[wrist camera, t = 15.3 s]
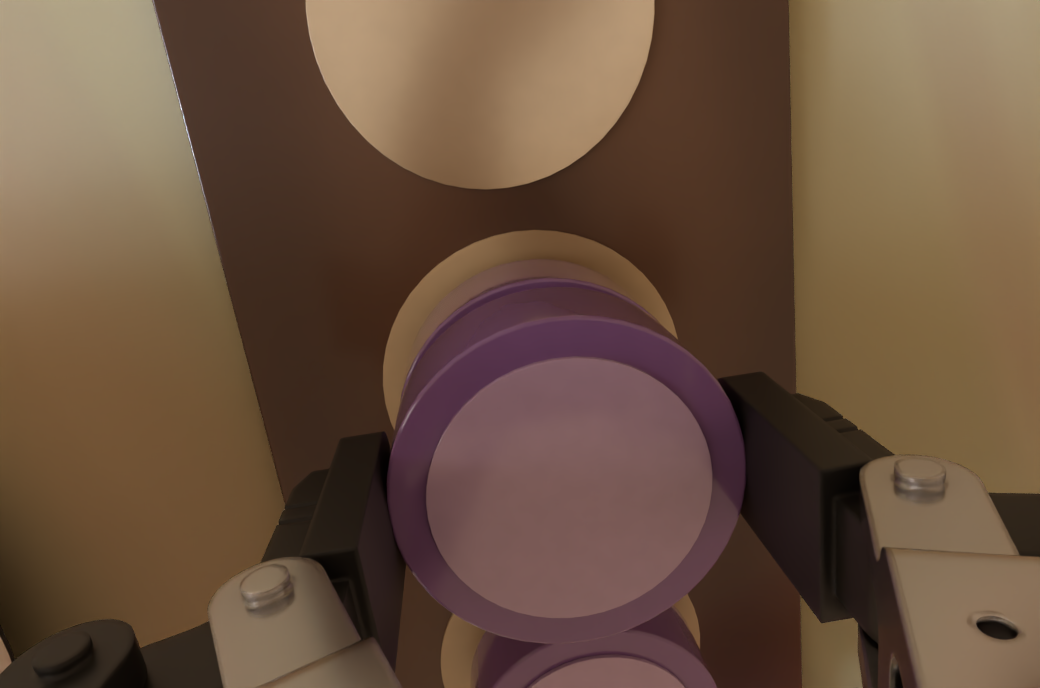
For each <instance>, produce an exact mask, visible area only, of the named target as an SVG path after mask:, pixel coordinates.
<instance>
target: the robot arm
mask: <svg viewBox="0 0 1040 688" xmlns="http://www.w3.org/2000/svg"><path fill="white" fill-rule="evenodd" d="M717 380H718V382H719V383H720V385H721V386H722V388H723V390H724V391H725V393H726V394H727V396H728V398H729V399H730V401H731V403H732V406H733V408H734V410H735V413H736V415H737V417H738V419H739V423H740V427H741V430H742V434H743V438H744V445H745V455H746V486H745V492H744V498H743V504H742V508H741V511H740V514H741V515H742V516H743V518H744V519H745V520H746V522H747V523H748V525H749V526H750V527H751V529H752V530H753V531H754V533H755V534H756V535H757V537H758V538H759V539H760V541H761V542H762V544H763V545H764V546H765V548H766V549H767V550H768V552H769V553H770V554H771V556H772V557H773V558H774V560H775V561H776V562H777V564H778V565H779V567H780V568H781V569H782V571H783V572H784V573H785V575H786V576H787V577H788V579H789V580H790V581H791V583H792V584H793V586H794V587H795V588H796V590H797V591H798V592H799V594H800V595H801V596H802V598H803V599H804V600H805V602H806V603H807V604H808V606H809V607H810V609H811V610H812V611H813V613H814V614H815V615H816V617H817V618H818V619H819V621H820V622H821V623H826V622H832V621H837V620H843V619H849V618H854V619H855V620H856V621H857V623H858V656H859V663H860V670H861V677H862V684H863V688H1040V494H1019V493H988V492H987V490H986V488H985V486H984V484H983V482H982V481H981V479H980V478H979V477H978V476H977V475H976V474H975V473H974V472H972V471H970V470H969V469H967V468H965V467H963V466H961V465H959V464H956V463H954V462H951V461H947V460H944V459H940V458H935V457H930V456H922V455H894V454H893V453H891V452H890V451H889V450H887V449H886V448H885V447H883V446H882V445H881V444H879V443H878V442H877V441H875V440H874V439H873V438H871V437H870V436H869V435H867V434H866V433H865V432H863V431H862V430H858V429H857V426H855V425H854V424H853V423H851V422H850V421H849V420H847V419H843V416H842V415H841V414H839V413H838V412H837V411H835V410H834V409H833V408H831V407H830V406H829V405H827V404H826V403H824V402H822V401H819V400H816V399H813V398H810V397H807V396H804V395H801V394H799V393H797V394H790V393H789V392H788V391H787V390H785V389H784V388H783V387H782V386H780V385H779V384H778V383H777V382H775V381H774V380H773V379H772V378H770V377H769V376H768V375H766V374H765V373H764V372H761V371H760V372H753V373H747V374H741V375H735V376H728V377H722V378H718V379H717ZM390 452H391V448H390V444H389V440H388V437H387V435H386V433H385V432H384V431H382V432H376V433H370V434H364V435H357V436H351V437H345V438H341V439H340V440H339V443H338V446H337V449H336V451H335V454H334V457H333V460H332V463H331V466H330V468H329V469H324V470H318V471H312V472H311V473H310V474H309V475H307V476H306V477H305V478H304V479H303V480H302V481H301V482H300V483H299V484H297V485H296V486H295V487H294V488H293V489H292V491H291V494H290V496H289V498H288V501H287V503H286V505H285V510H283V512H282V514H281V517H280V519H279V521H278V522H279V525H277V526H276V528H275V531H274V533H273V535H272V537H271V540H270V542H269V544H268V547H267V549H266V551H265V554H264V556H263V558H262V561H261V563H260V564H257V565H255V566H252V567H250V568H248V569H246V570H244V571H242V572H240V573H238V574H237V575H235V576H234V577H232V578H231V579H229V580H228V581H227V582H226V583H224V584H223V585H222V586H221V587H220V588H219V589H218V590H217V591H216V593H215V594H214V595H213V596H212V598H211V600H210V602H209V605H208V618H209V621H208V622H206V623H204V624H202V625H200V626H198V627H195V628H193V629H191V630H188V631H186V632H183V633H180V634H177V635H175V636H172V637H169V638H166V639H164V640H161V641H158V642H156V643H153V644H150V645H147V646H145V647H142V648H140V647H139V644H138V641H137V639H136V636H135V633H134V631H133V629H132V627H131V626H130V625H129V624H128V623H126V622H123V621H120V620H97V621H92V622H87V623H83V624H80V625H77V626H73V627H71V628H68V629H66V630H63V631H61V632H59V633H56V634H54V635H52V636H50V637H48V638H46V639H45V640H43V641H41V642H39V643H38V644H36V645H34V646H33V647H31V648H30V649H28V650H27V651H26V652H24V653H23V654H22V655H20V656H19V657H18V658H17V659H16V660H14V661H13V662H12V663H11V664H10V665H9V666H8V667H7V668H6V669H5V670H4V671H3V672H2V673H1V674H0V688H403V687H402V686H401V684H400V682H399V680H398V679H397V677H396V675H395V669H396V659H397V649H398V639H399V629H400V619H401V610H402V600H403V590H404V580H405V570H406V563H405V561H404V559H403V557H402V555H401V553H400V551H399V548H398V546H397V544H396V541H395V537H394V534H393V529H392V525H391V520H390V515H389V510H388V505H387V499H386V477H387V470H388V464H389V458H390Z"/></svg>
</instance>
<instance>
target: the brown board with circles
mask: <svg viewBox="0 0 1040 688" xmlns="http://www.w3.org/2000/svg"><path fill="white" fill-rule="evenodd" d="M152 2H153V5H154V9H155V13H156V17H157V21H158V24H159V28H160V32H161V36H162V39H163V43H164V47H165V51H166V55H167V58H168V62H169V66H170V70H171V74H172V77H173V81H174V85H175V89H176V93H177V96H178V100H179V104H180V108H181V111H182V115H183V119H184V123H185V127H186V130H187V134H188V138H189V142H190V146H191V149H192V153H193V157H194V161H195V165H196V168H197V172H198V176H199V180H200V183H201V187H202V191H203V195H204V199H205V202H206V206H207V210H208V214H209V218H210V221H211V225H212V229H213V233H214V237H215V240H216V244H217V248H218V252H219V255H220V259H221V263H222V267H223V271H224V274H225V278H226V282H227V286H228V290H229V293H230V297H231V301H232V305H233V309H234V312H235V316H236V320H237V324H238V328H239V331H240V335H241V339H242V343H243V346H244V350H245V354H246V358H247V362H248V365H249V369H250V373H251V377H252V381H253V384H254V388H255V392H256V396H257V400H258V403H259V407H260V411H261V415H262V418H263V422H264V426H265V430H266V434H267V437H268V441H269V445H270V449H271V453H272V456H273V460H274V464H275V468H276V472H277V475H278V479H279V483H280V487H281V490H282V494H283V498H284V502H285V505H286V503H287V501H288V498H289V496H290V494H291V491H292V489H293V488H294V487H295V486H296V485H297V484H299V483H300V482H301V481H302V480H303V479H304V478H305V477H306V476H307V475H309V474H310V473H311V472H312V471H318V470H324V469H329V468H330V466H331V463H332V460H333V457H334V454H335V451H336V449H337V446H338V443H339V440H340V439H341V438H345V437H351V436H357V435H364V434H370V433H376V432H382V431H384V432H385V433H386V435H387V437H388V440H389V444H390V448H391V447H392V441H393V436H394V431H395V425H396V420H397V414H398V409H399V405H400V400H401V393H402V388H403V382H404V377H405V372H406V366H407V361H408V358H409V354H410V351H411V348H412V345H413V342H414V340H415V338H416V336H417V334H418V332H419V329H420V328H421V326H422V325H423V323H424V322H425V320H426V318H427V317H428V315H429V314H430V313H431V312H432V310H433V309H434V308H435V307H436V306H437V305H438V303H439V302H440V301H441V300H442V299H443V298H444V297H445V296H447V295H448V294H449V293H450V292H451V291H452V290H453V289H455V288H456V287H457V286H459V285H460V284H462V283H463V282H465V281H466V280H468V279H469V278H471V277H473V276H475V275H477V274H479V273H481V272H483V271H485V270H488V269H490V268H493V267H496V266H499V265H502V264H506V263H510V262H515V261H520V260H531V259H550V260H560V261H565V262H571V263H575V264H578V265H581V266H584V267H587V268H590V269H592V270H595V271H597V272H599V273H601V274H603V275H605V276H607V277H608V278H610V279H611V280H613V281H614V282H616V283H617V284H619V285H620V286H621V287H622V288H624V289H625V290H626V291H627V292H628V293H629V294H630V295H632V296H633V297H634V298H635V299H636V300H637V301H638V302H639V303H640V304H641V305H642V306H643V307H644V308H645V309H646V310H647V311H648V312H649V313H651V314H652V315H653V316H654V317H655V318H656V319H657V320H658V321H659V323H660V324H661V325H663V326H664V327H665V328H666V329H667V330H668V331H669V332H670V333H671V334H672V335H674V336H675V337H676V338H677V339H678V340H679V341H680V342H681V343H682V344H683V345H684V346H685V347H686V348H687V349H688V350H689V351H690V352H691V353H692V354H693V355H694V356H696V357H697V358H698V359H699V360H700V361H701V362H702V363H703V364H704V365H705V366H706V367H707V369H708V370H709V371H710V372H711V373H712V375H713V376H714V377H715V378H716V379H718V378H722V377H728V376H735V375H741V374H747V373H753V372H760V371H761V372H764V373H765V374H766V375H768V376H769V377H770V378H772V379H773V380H774V381H775V382H777V383H778V384H779V385H780V386H782V387H783V388H784V389H785V390H787V391H788V392H789V393H790V394H796V359H795V309H794V258H793V208H792V157H791V106H790V56H789V5H788V0H152ZM674 606H675V607H676V608H677V609H678V610H679V612H680V613H681V614H682V616H683V617H684V619H685V620H686V622H687V624H688V626H689V628H690V630H691V632H692V634H693V636H694V638H695V640H696V642H697V644H698V647H699V649H700V651H701V653H702V655H703V657H704V659H705V661H706V664H707V666H708V668H709V670H710V672H711V674H712V676H713V678H714V681H715V683H716V685H717V687H718V688H802V663H801V612H800V594H799V592H798V591H797V590H796V588H795V587H794V586H793V584H792V583H791V581H790V580H789V579H788V577H787V576H786V575H785V573H784V572H783V571H782V569H781V568H780V567H779V565H778V564H777V562H776V561H775V560H774V558H773V557H772V556H771V554H770V553H769V552H768V550H767V549H766V548H765V546H764V545H763V544H762V542H761V541H760V539H759V538H758V537H757V535H756V534H755V533H754V531H753V530H752V529H751V527H750V526H749V525H748V523H747V522H746V520H745V519H744V518H743V516H742V515H741V514H739V517H738V521H737V524H736V526H735V528H734V531H733V533H732V535H731V537H730V539H729V541H728V544H727V545H726V547H725V549H724V550H723V552H722V553H721V555H720V557H719V558H718V560H717V561H716V563H715V564H714V565H713V567H712V568H711V569H710V570H709V572H708V573H707V574H706V575H705V577H704V578H703V579H702V580H701V581H700V582H699V583H698V584H697V585H696V586H695V587H694V588H693V589H692V590H691V591H690V592H689V593H688V594H687V595H685V596H684V597H683V598H682V599H680V600H679V601H678V602H676V603H675V604H674ZM484 633H485V630H482V629H480V628H478V627H476V626H474V625H472V624H470V623H468V622H466V621H464V620H462V619H461V618H459V617H458V616H456V615H455V614H453V613H452V612H450V611H449V610H447V609H446V608H445V607H444V606H442V605H441V604H440V603H439V602H438V601H437V600H435V599H434V598H433V597H432V596H431V595H430V594H429V593H428V592H427V591H426V590H425V588H424V587H423V586H422V585H421V584H420V583H419V582H418V580H417V579H416V578H415V576H414V575H413V573H412V572H411V570H410V569H409V567H408V566H407V564H406V570H405V580H404V590H403V600H402V610H401V619H400V629H399V639H398V649H397V659H396V669H395V675H396V677H397V679H398V680H399V682H400V684H401V686H402V687H403V688H470V676H471V666H472V662H473V657H474V654H475V652H476V649H477V646H478V644H479V642H480V640H481V638H482V636H483V635H484Z"/></svg>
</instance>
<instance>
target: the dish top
mask: <svg viewBox="0 0 1040 688" xmlns="http://www.w3.org/2000/svg"><path fill="white" fill-rule="evenodd" d="M470 688H718V687H717V685H716V683H715V681H714V678H713V676H712V674H711V672H710V670H709V668H708V666H707V664H706V661H705V659H704V657H703V655H702V653H701V651H700V649H699V647H698V644H697V642H696V640H695V638H694V636H693V634H692V632H691V630H690V628H689V626H688V624H687V622H686V620H685V619H684V617H683V616H682V614H681V613H680V612H679V610H678V609H677V608H676V607H675V606H674V605H673V606H671V607H670V608H668V609H667V610H665V611H664V612H662V613H660V614H659V615H657V616H656V617H654V618H652V619H650V620H648V621H646V622H644V623H642V624H640V625H638V626H636V627H634V628H632V629H629V630H626V631H623V632H620V633H617V634H614V635H612V636H608V637H603V638H599V639H595V640H591V641H583V642H575V643H557V644H545V643H535V642H525V641H520V640H515V639H511V638H506V637H502V636H499V635H496V634H494V633H491V632H488V631H485V633H484V635H483V636H482V638H481V640H480V642H479V644H478V646H477V649H476V652H475V654H474V657H473V662H472V666H471V676H470Z"/></svg>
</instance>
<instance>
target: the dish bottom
mask: <svg viewBox="0 0 1040 688" xmlns="http://www.w3.org/2000/svg"><path fill="white" fill-rule="evenodd" d="M546 287H575V288H582V289H588V290H594V291H599V292H602V293H605V294H608V295H611V296H615V297H618V298H620V299H622V300H624V301H626V302H628V303H630V304H633V305H635V306H637V307H638V308H640V309H641V310H643V311H644V312H646V313H647V314H649V315H650V316H652V317H653V318H655V317H654V316H653V315H652V314H651V313H649V312H648V311H647V310H646V309H645V308H644V307H643V306H642V305H641V304H640V303H639V302H638V301H637V300H636V299H635V298H634V297H633V296H632V295H630V294H629V293H628V292H627V291H626V290H625V289H624V288H622V287H621V286H620V285H619V284H617V283H616V282H614V281H613V280H611V279H610V278H608V277H607V276H605V275H603V274H601V273H599V272H597V271H595V270H592V269H590V268H587V267H584V266H581V265H578V264H575V263H571V262H565V261H560V260H550V259H531V260H520V261H515V262H510V263H506V264H502V265H499V266H496V267H493V268H490V269H488V270H485V271H483V272H481V273H479V274H477V275H475V276H473V277H471V278H469V279H468V280H466V281H465V282H463V283H462V284H460V285H459V286H457V287H456V288H455V289H453V290H452V291H451V292H450V293H449V294H448V295H447V296H445V297H444V298H443V299H442V300H441V301H440V302H439V303H438V305H437V306H436V307H435V308H434V309H433V310H432V312H431V313H430V314H429V315H428V317H427V318H426V320H425V322H424V323H423V325H422V326H421V328H420V329H419V332H418V334H417V336H416V338H415V340H414V342H413V345H412V348H411V351H410V354H409V358H408V361H407V366H406V372H405V377H404V382H403V388H402V393H401V399H402V396H403V392H404V389H405V387H406V385H407V383H408V381H409V378H410V376H411V374H412V372H413V370H414V369H415V367H416V365H417V364H418V362H419V361H420V359H421V358H422V356H423V355H424V353H425V352H426V351H427V350H428V348H429V347H430V346H431V345H432V344H433V343H434V341H435V340H436V339H437V338H438V337H439V336H440V335H441V334H442V333H443V332H444V331H446V330H447V329H448V328H449V327H450V326H451V325H452V324H453V323H455V322H456V321H458V320H459V319H460V318H462V317H463V316H465V315H466V314H468V313H469V312H471V311H472V310H474V309H476V308H478V307H480V306H482V305H484V304H486V303H488V302H490V301H492V300H495V299H498V298H500V297H503V296H506V295H509V294H512V293H516V292H520V291H525V290H529V289H535V288H546ZM655 319H656V318H655ZM656 320H657V319H656ZM657 321H658V320H657ZM658 322H659V321H658ZM400 402H401V400H400Z"/></svg>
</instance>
